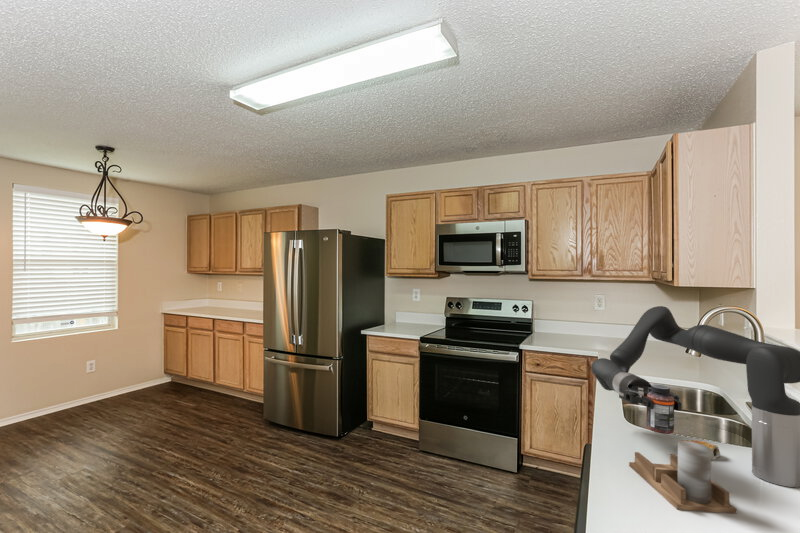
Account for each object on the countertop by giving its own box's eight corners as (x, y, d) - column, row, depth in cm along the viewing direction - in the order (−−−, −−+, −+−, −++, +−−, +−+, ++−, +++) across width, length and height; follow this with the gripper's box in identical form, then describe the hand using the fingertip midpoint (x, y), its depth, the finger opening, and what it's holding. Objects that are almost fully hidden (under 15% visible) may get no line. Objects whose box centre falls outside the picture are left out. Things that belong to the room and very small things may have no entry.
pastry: (674, 449, 116) (674, 436, 116) (684, 445, 120) (684, 432, 120) (712, 462, 108) (712, 448, 108) (722, 457, 112) (722, 443, 112)
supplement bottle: (648, 424, 105) (648, 381, 105) (675, 430, 101) (675, 386, 102) (644, 430, 101) (645, 386, 101) (672, 437, 97) (673, 390, 97)
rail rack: (676, 468, 103) (676, 422, 104) (736, 513, 83) (736, 456, 84) (629, 465, 104) (629, 420, 104) (677, 509, 84) (677, 452, 84)
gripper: (606, 373, 116) (636, 389, 99) (657, 376, 115) (696, 392, 98) (606, 399, 116) (636, 419, 99) (657, 401, 115) (696, 422, 98)
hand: (665, 405), depth 99 cm, fingers closed on supplement bottle, 6 cm apart
